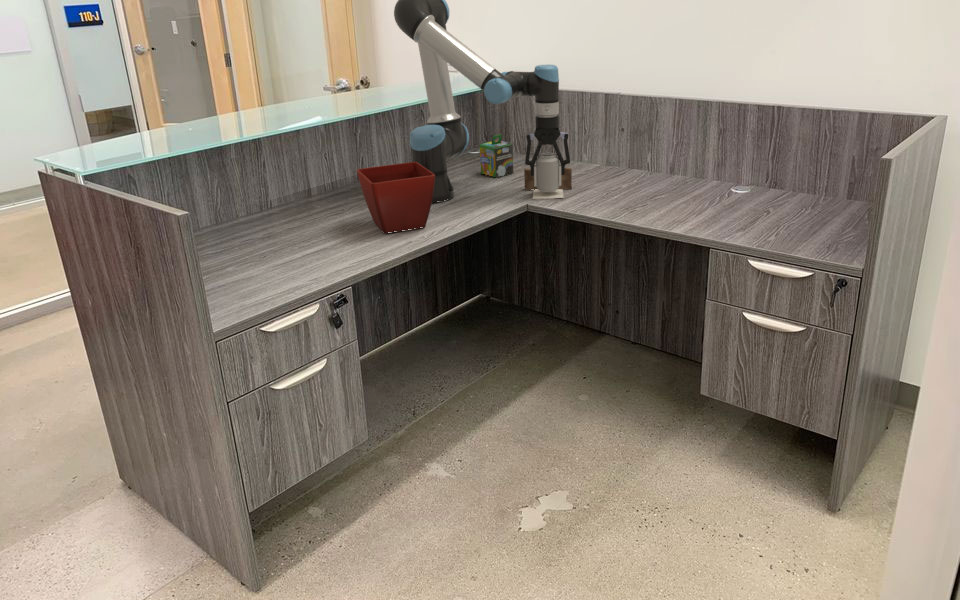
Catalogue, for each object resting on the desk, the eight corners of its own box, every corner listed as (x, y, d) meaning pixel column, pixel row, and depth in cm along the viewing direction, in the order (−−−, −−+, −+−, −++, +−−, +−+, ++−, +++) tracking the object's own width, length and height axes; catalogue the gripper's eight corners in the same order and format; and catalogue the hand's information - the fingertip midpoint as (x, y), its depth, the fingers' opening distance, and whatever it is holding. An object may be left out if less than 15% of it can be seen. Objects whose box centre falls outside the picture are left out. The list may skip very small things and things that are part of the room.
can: (559, 186, 257) (559, 151, 252) (559, 192, 250) (559, 156, 245) (536, 187, 258) (536, 151, 253) (536, 193, 251) (535, 157, 246)
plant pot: (440, 229, 226) (436, 174, 220) (377, 240, 220) (371, 183, 214) (420, 213, 243) (416, 161, 236) (362, 222, 237) (355, 169, 230)
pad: (532, 199, 251) (532, 198, 250) (533, 191, 260) (533, 189, 260) (563, 199, 250) (563, 197, 250) (562, 190, 259) (562, 189, 259)
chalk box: (498, 169, 291) (496, 131, 285) (514, 173, 284) (513, 133, 278) (479, 174, 285) (477, 135, 279) (495, 178, 279) (494, 138, 273)
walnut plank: (524, 190, 262) (524, 170, 259) (524, 188, 264) (524, 168, 261) (571, 189, 261) (571, 168, 258) (571, 187, 262) (571, 167, 260)
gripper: (515, 118, 242) (516, 188, 251) (579, 116, 240) (579, 187, 249) (515, 114, 249) (517, 182, 258) (578, 112, 247) (578, 181, 256)
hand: (547, 184), depth 253 cm, fingers closed on can, 7 cm apart
